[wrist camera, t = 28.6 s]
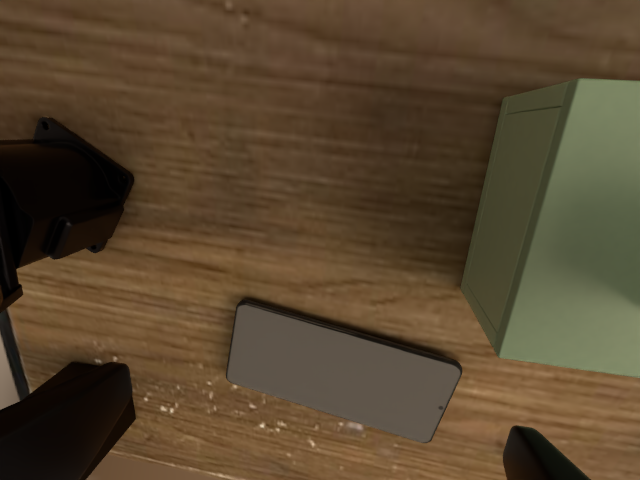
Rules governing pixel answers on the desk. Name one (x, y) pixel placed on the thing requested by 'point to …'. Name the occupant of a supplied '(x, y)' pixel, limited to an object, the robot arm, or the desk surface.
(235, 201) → the desk surface
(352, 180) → the desk surface
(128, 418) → the stand
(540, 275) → the cover
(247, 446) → the desk surface
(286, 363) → the smartphone
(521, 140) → the case
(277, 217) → the desk surface
